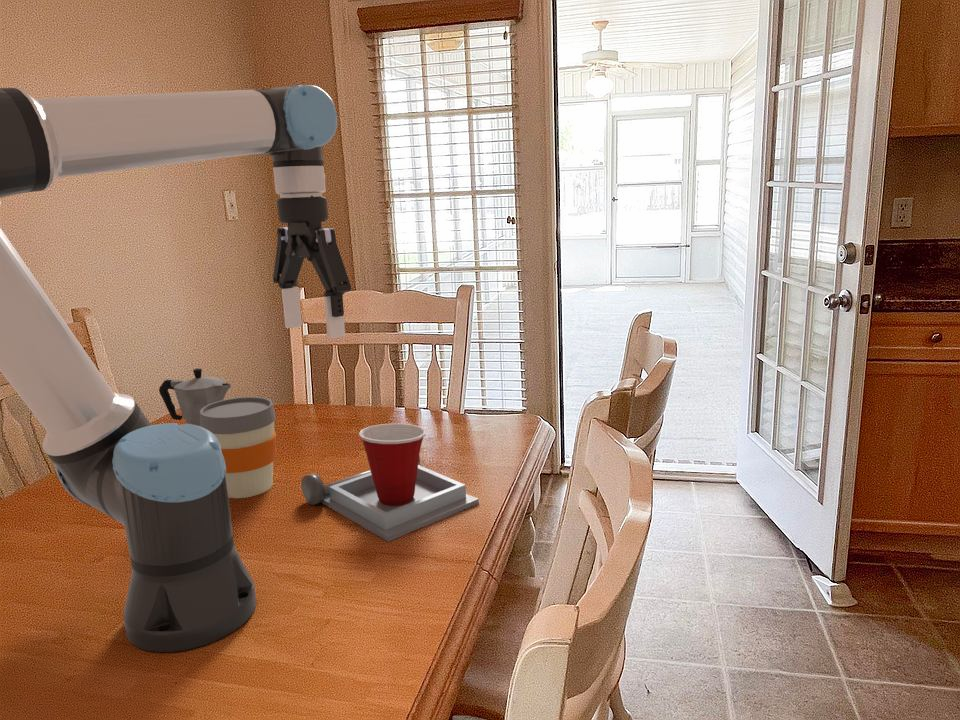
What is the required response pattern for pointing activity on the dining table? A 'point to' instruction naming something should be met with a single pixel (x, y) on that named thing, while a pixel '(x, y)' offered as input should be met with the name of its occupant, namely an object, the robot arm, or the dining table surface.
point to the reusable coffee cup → (244, 442)
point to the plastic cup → (393, 460)
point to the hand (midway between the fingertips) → (314, 332)
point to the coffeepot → (193, 395)
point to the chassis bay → (388, 522)
